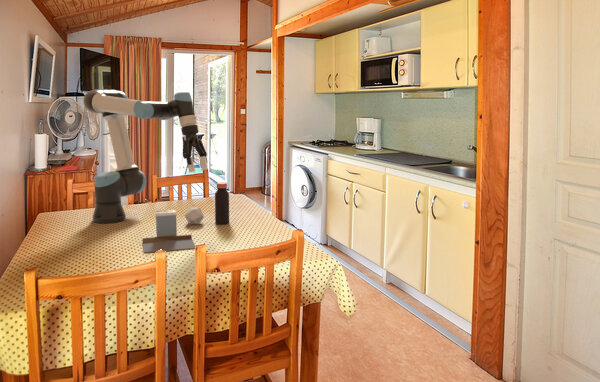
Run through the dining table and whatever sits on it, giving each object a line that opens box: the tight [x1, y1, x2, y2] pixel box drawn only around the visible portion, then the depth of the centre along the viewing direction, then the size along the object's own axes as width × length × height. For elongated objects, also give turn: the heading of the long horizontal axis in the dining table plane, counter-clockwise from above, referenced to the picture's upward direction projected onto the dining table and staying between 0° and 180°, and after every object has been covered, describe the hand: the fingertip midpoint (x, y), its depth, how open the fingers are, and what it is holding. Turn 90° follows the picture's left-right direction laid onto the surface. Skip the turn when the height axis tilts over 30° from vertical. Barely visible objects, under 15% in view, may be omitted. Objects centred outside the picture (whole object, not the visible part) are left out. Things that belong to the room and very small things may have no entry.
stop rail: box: [142, 233, 193, 243], centre depth 198 cm, size 1×20×2 cm, turn 111°
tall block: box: [155, 209, 178, 237], centre depth 200 cm, size 5×8×12 cm, turn 111°
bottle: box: [214, 181, 230, 226], centre depth 228 cm, size 7×7×20 cm
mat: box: [142, 239, 196, 254], centre depth 191 cm, size 14×20×1 cm
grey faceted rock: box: [184, 207, 205, 225], centre depth 227 cm, size 8×9×10 cm
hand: (198, 171), depth 217 cm, fingers open, 13 cm apart
